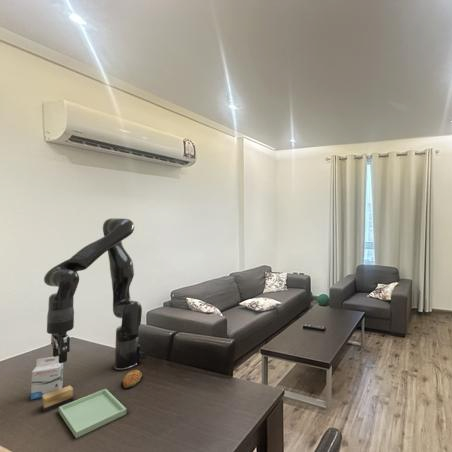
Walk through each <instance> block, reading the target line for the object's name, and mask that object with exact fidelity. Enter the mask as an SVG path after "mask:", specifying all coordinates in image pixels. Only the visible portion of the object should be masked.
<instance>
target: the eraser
mask: <svg viewBox="0 0 452 452" xmlns="http://www.w3.org/2000/svg"><path fill="white" fill-rule="evenodd" d="M73 401H74V388H73V387H72V386H71V385H67V386H64V387H62V388H61V389H58V390H56V391H53V392H50V393H47V394H44V395H42V398H41V409H42V410H43V412H44V413H45V412H49V411H51V410H54V409H55V408H56V409H57V408H59V407H60V406H63V405H65V404H68V403H70V402H73Z"/></svg>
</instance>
